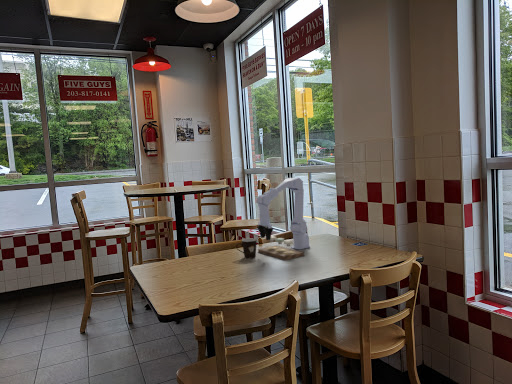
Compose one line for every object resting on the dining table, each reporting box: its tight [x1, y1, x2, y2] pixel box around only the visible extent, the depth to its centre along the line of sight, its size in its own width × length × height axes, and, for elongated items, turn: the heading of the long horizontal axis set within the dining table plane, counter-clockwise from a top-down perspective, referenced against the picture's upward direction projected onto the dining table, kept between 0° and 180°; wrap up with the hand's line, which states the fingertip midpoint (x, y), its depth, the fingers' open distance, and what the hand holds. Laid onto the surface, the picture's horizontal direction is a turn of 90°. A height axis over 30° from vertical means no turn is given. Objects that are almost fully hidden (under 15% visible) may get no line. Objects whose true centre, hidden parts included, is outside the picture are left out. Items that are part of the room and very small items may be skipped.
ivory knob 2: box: [283, 239, 294, 247], centre depth 217 cm, size 5×5×3 cm
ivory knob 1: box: [269, 235, 277, 243], centre depth 230 cm, size 5×5×3 cm
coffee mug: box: [235, 237, 258, 259], centre depth 220 cm, size 12×9×10 cm
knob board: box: [257, 245, 305, 261], centre depth 224 cm, size 14×26×2 cm, turn 34°
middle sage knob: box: [275, 237, 285, 245], centre depth 224 cm, size 5×5×3 cm
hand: (265, 238), depth 221 cm, fingers open, 7 cm apart
